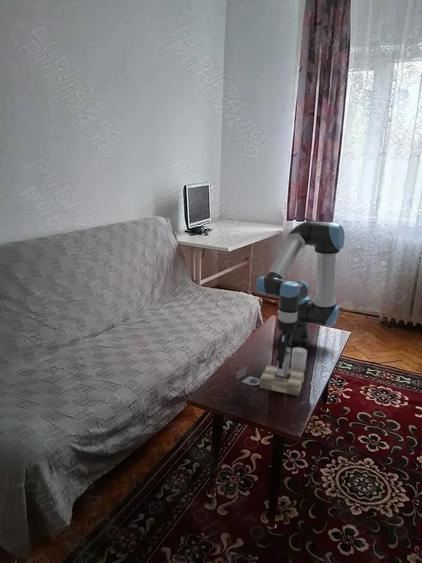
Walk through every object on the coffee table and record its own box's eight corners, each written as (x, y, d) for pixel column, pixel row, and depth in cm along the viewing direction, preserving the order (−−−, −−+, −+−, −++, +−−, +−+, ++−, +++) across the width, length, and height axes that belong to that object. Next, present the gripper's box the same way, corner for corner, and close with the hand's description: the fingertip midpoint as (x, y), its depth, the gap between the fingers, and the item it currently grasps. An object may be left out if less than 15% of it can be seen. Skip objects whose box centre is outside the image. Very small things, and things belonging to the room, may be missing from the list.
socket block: (267, 373, 184) (267, 364, 183) (303, 380, 179) (304, 371, 178) (259, 387, 171) (260, 378, 170) (298, 395, 166) (299, 386, 165)
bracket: (255, 388, 171) (255, 380, 170) (236, 380, 178) (236, 372, 177) (264, 382, 176) (264, 375, 175) (245, 375, 182) (245, 367, 181)
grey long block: (278, 380, 177) (280, 350, 174) (287, 382, 176) (290, 352, 173) (276, 384, 174) (278, 354, 170) (285, 386, 172) (288, 355, 169)
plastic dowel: (291, 364, 193) (293, 346, 191) (305, 366, 191) (307, 348, 189) (289, 370, 187) (291, 352, 185) (304, 373, 185) (306, 354, 183)
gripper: (283, 309, 180) (280, 354, 186) (271, 328, 158) (267, 379, 163) (301, 312, 178) (297, 357, 183) (291, 332, 155) (286, 383, 160)
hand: (283, 368), depth 173 cm, fingers open, 13 cm apart
